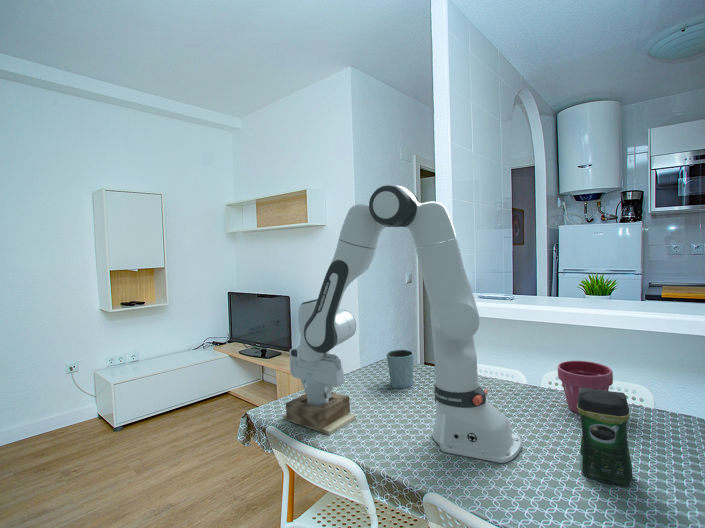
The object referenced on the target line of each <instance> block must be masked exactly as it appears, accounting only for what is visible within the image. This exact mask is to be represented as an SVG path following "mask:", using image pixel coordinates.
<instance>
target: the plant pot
mask: <svg viewBox="0 0 705 528" xmlns="http://www.w3.org/2000/svg"><path fill="white" fill-rule="evenodd" d="M613 374H614V373H613V370H612V368H611V367H609V366H607V365H606V364H602V363H599V362H594V361H586V360H566V361H562V362H560V363H558V365H557V377H558V380H560V381H561V383H562V388H563V392H564V393H563V394H564V396H565V399H566V402H567V407H568V409H570V410H571V412H574V413H576V414H579V412H578V409H577V403H578V396H579V391H580V389H581V388H583V387H584V388H589V389H597V390H605V391H610V390H609V388H610V387H611V386H612V385H613V383H614V375H613Z"/></svg>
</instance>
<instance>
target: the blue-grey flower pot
mask: <svg viewBox="0 0 705 528" xmlns="http://www.w3.org/2000/svg"><path fill="white" fill-rule="evenodd" d="M386 361H387V366H388V374H389V382H390V385H391V387H393V388H396V389H406V388H411V387H413V385H414V351H412V350H409V349H394V350H390V351H387V352H386Z"/></svg>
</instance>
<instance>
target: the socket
mask: <svg viewBox="0 0 705 528" xmlns="http://www.w3.org/2000/svg"><path fill="white" fill-rule="evenodd" d="M350 403H351V402H350V396H348V395H345V394H340V393H336V392H333V391H331V398H329V402H327V403H325V404H323V405H321V406H319V407H316V406H312V405H309V404H308V400H307V393H304V394H303V395H300V396H298V397H296V398H293V399H292V400H290V401H287V402H286V403H285V411H286V413H285V414H283V415H282V420H285V421H289V422H292V423H295V424H297V425H300V426H304V427H307V428H309V429H312V430H314V431H318V432H320V433H323V434H326V435H329V436H330V435H332V434H333V433H336V432H337V431H338V430H340V429H342V428H344V427H345V426H346V425H348V424H350V423H351V422H353V421H354V420H356V417H357V416H356V415H355V414H352V413H351V405H350Z"/></svg>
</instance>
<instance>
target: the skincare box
mask: <svg viewBox="0 0 705 528" xmlns="http://www.w3.org/2000/svg"><path fill="white" fill-rule="evenodd" d="M306 386H307V400H308V404H309V405H312V406H316V407H319V406H321V405H323V404H325V403H327V402H329V399H328V398H324V392H326V390H327V388H326V385H325V384H321V383H316V382H315V380H314V374H311V373H307V374H306Z"/></svg>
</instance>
